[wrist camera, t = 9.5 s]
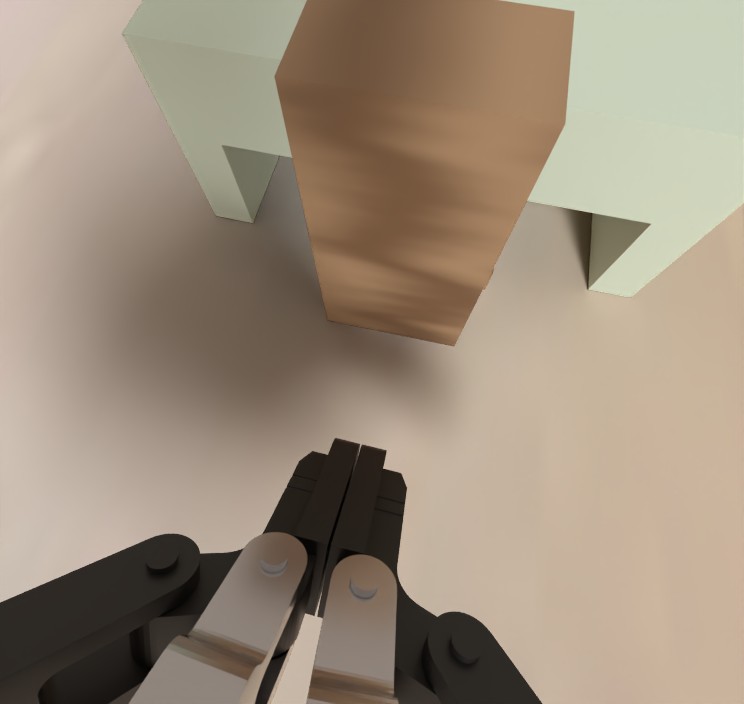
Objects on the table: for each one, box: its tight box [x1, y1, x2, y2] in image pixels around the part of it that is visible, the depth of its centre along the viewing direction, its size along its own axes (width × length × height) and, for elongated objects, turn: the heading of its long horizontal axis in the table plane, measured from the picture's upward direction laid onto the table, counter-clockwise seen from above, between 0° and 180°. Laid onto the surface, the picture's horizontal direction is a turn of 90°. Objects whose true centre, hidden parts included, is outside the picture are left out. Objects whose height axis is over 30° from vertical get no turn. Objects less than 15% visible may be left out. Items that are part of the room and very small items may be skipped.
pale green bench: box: [122, 0, 744, 297], centre depth 19 cm, size 21×8×9 cm, turn 77°
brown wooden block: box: [274, 0, 575, 346], centre depth 17 cm, size 8×15×12 cm, turn 167°
